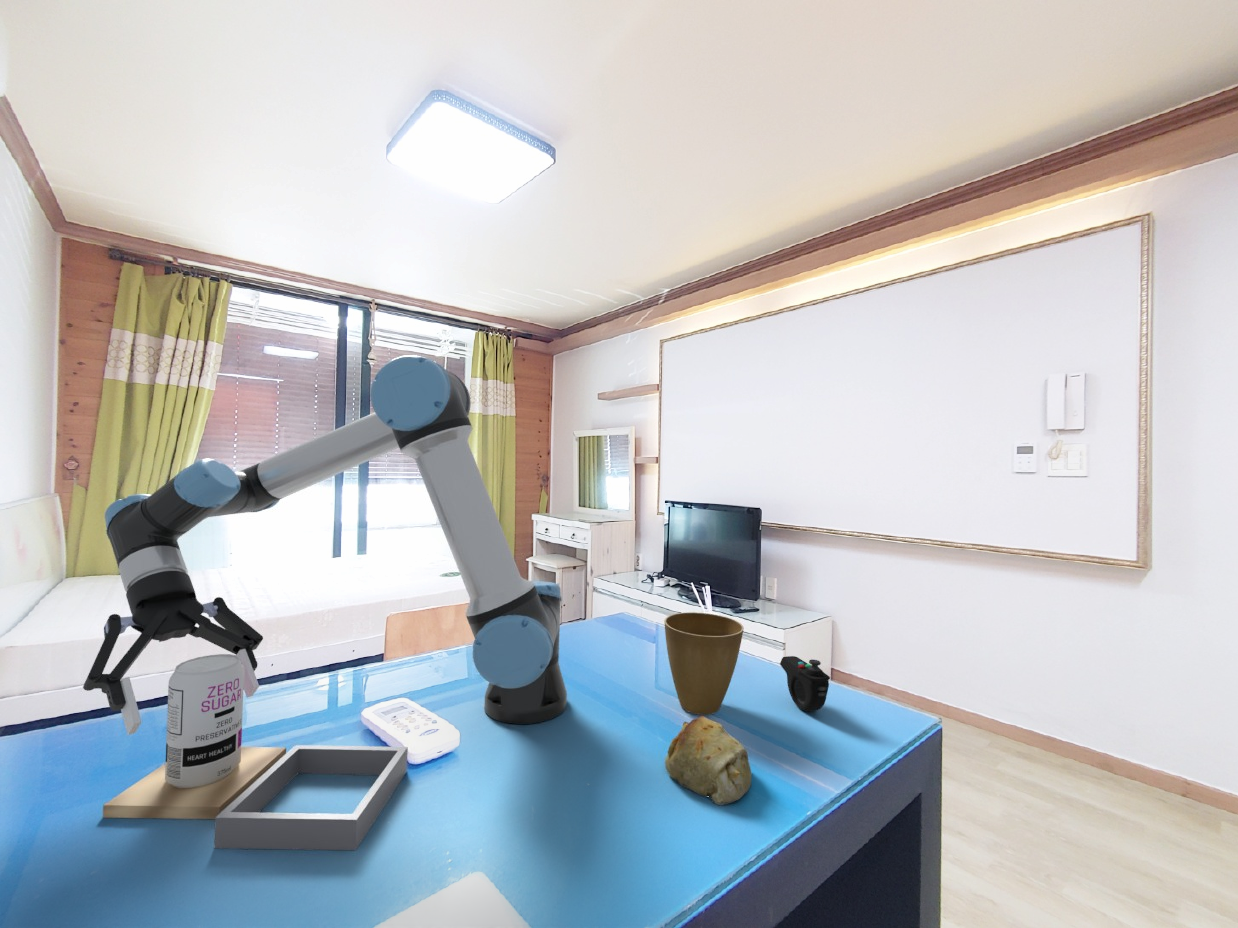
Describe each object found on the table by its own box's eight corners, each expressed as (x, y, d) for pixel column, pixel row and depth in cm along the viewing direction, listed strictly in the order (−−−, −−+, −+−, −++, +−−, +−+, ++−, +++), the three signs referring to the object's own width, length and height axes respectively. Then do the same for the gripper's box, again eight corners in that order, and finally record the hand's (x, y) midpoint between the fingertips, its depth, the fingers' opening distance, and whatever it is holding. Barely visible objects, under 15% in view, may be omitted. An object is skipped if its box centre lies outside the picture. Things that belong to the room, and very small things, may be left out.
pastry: (661, 750, 86) (662, 700, 86) (738, 752, 86) (740, 702, 86) (670, 806, 72) (672, 746, 72) (762, 808, 72) (764, 749, 72)
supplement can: (192, 757, 77) (197, 652, 77) (253, 756, 78) (257, 652, 78) (148, 791, 69) (152, 674, 69) (216, 790, 69) (220, 674, 70)
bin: (406, 771, 78) (407, 746, 78) (355, 849, 62) (356, 819, 62) (294, 769, 77) (295, 744, 77) (214, 848, 61) (215, 817, 61)
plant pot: (651, 714, 98) (654, 627, 98) (674, 685, 112) (676, 608, 112) (733, 732, 92) (736, 639, 92) (746, 699, 106) (749, 618, 106)
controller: (811, 722, 97) (813, 667, 97) (776, 693, 109) (777, 644, 109) (832, 720, 98) (834, 665, 98) (795, 692, 110) (796, 643, 110)
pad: (286, 757, 80) (286, 747, 80) (218, 818, 66) (219, 806, 66) (190, 755, 80) (190, 745, 80) (102, 817, 66) (103, 805, 66)
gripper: (240, 584, 94) (283, 692, 86) (33, 616, 72) (64, 763, 64) (257, 557, 91) (302, 666, 83) (46, 582, 69) (80, 731, 62)
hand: (198, 709), depth 74 cm, fingers open, 13 cm apart
